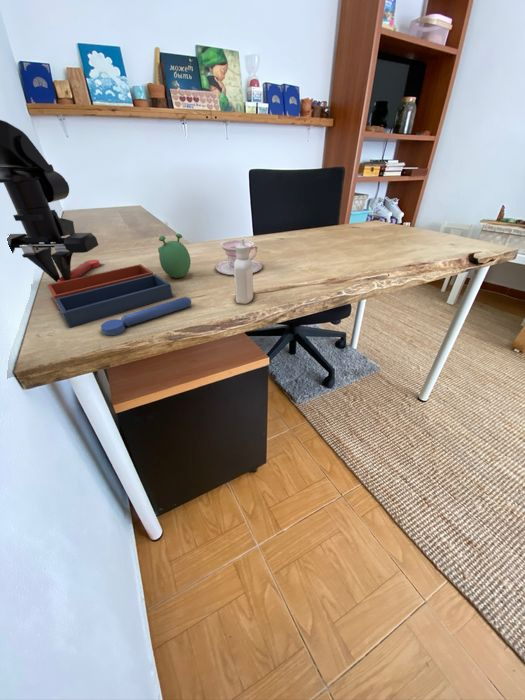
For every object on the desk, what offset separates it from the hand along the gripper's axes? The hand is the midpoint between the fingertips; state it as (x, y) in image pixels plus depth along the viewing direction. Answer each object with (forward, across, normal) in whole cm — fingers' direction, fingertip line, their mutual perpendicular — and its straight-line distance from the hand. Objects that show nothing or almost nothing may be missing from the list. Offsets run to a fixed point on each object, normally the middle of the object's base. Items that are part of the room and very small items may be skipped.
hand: (63, 281), depth 67 cm
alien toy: (+1, -25, -5) cm, 25 cm away
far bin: (+1, -11, +3) cm, 11 cm away
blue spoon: (+1, -25, +16) cm, 30 cm away
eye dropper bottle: (+1, -42, +8) cm, 43 cm away
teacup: (+1, -40, -10) cm, 41 cm away
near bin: (+1, -17, +10) cm, 20 cm away
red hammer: (+1, 0, -7) cm, 7 cm away
